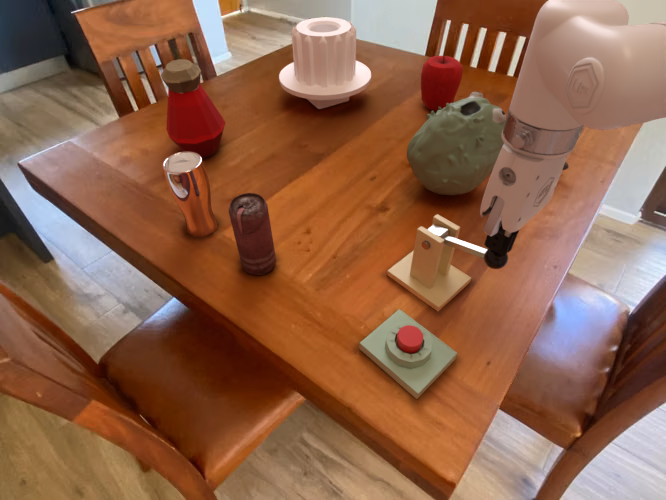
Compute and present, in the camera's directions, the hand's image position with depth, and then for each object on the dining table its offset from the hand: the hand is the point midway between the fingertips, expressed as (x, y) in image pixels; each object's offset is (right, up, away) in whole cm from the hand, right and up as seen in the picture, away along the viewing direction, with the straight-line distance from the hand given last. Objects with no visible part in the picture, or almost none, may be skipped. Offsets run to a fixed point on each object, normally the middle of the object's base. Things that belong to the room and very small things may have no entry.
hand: (497, 248), depth 59 cm
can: (-36, -3, +18) cm, 40 cm away
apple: (+6, +39, +58) cm, 70 cm away
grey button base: (-12, -16, +5) cm, 20 cm away
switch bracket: (-6, -5, +15) cm, 17 cm away
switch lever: (-3, -1, +5) cm, 6 cm away
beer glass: (-48, +4, +25) cm, 55 cm away
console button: (-12, -13, +2) cm, 18 cm away
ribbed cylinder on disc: (-25, +43, +63) cm, 80 cm away
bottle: (-54, +24, +46) cm, 75 cm away
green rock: (+2, +13, +33) cm, 35 cm away
